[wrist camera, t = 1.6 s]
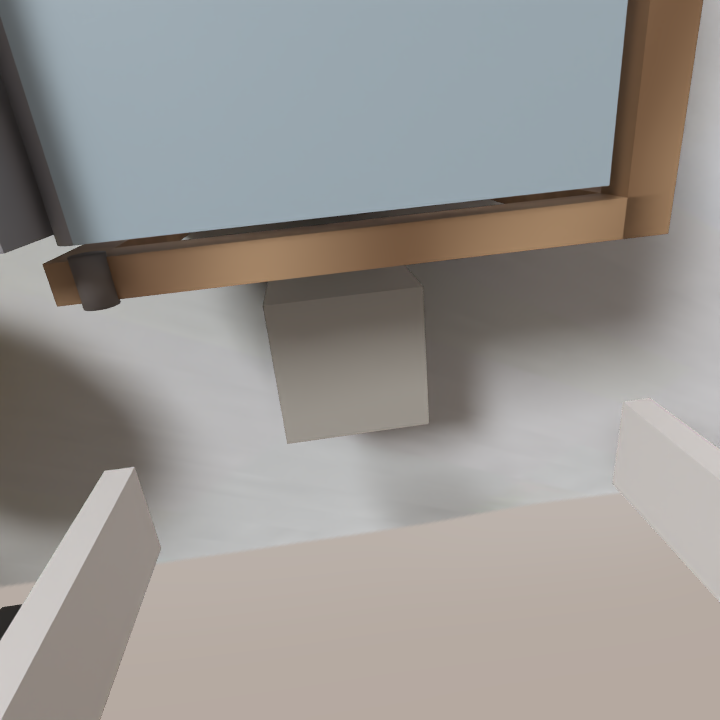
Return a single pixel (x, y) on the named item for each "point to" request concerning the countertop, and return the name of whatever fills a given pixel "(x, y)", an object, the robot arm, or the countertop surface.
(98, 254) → the trapdoor frame
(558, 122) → the trapdoor
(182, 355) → the countertop surface
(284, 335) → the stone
